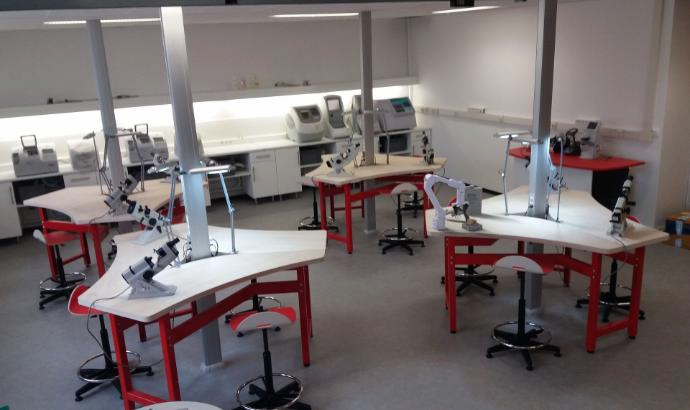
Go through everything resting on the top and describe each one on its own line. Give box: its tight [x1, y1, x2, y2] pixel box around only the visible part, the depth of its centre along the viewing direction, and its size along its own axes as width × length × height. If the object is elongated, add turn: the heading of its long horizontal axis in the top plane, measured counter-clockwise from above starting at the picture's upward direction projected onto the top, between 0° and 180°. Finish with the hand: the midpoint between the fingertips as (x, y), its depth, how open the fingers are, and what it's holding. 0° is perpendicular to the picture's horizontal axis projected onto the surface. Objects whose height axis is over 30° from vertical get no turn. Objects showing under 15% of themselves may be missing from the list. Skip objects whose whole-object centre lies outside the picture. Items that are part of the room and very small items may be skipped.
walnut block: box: [466, 218, 478, 226], centre depth 442 cm, size 5×5×6 cm
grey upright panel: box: [461, 184, 483, 215], centre depth 482 cm, size 17×5×25 cm, turn 91°
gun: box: [434, 205, 471, 223], centre depth 467 cm, size 5×27×15 cm, turn 63°
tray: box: [461, 222, 483, 232], centre depth 442 cm, size 12×10×4 cm
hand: (460, 214), depth 445 cm, fingers open, 7 cm apart
